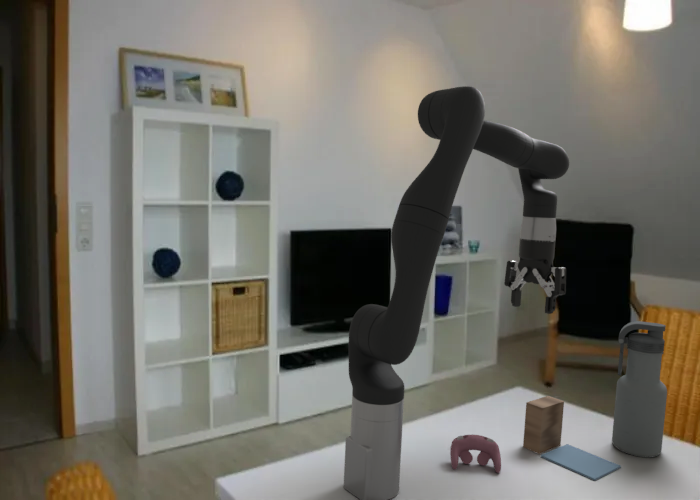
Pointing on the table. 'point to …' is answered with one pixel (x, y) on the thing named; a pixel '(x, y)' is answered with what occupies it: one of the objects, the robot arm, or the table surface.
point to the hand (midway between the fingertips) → (532, 309)
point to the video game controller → (475, 442)
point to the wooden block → (543, 424)
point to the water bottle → (640, 392)
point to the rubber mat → (581, 462)
